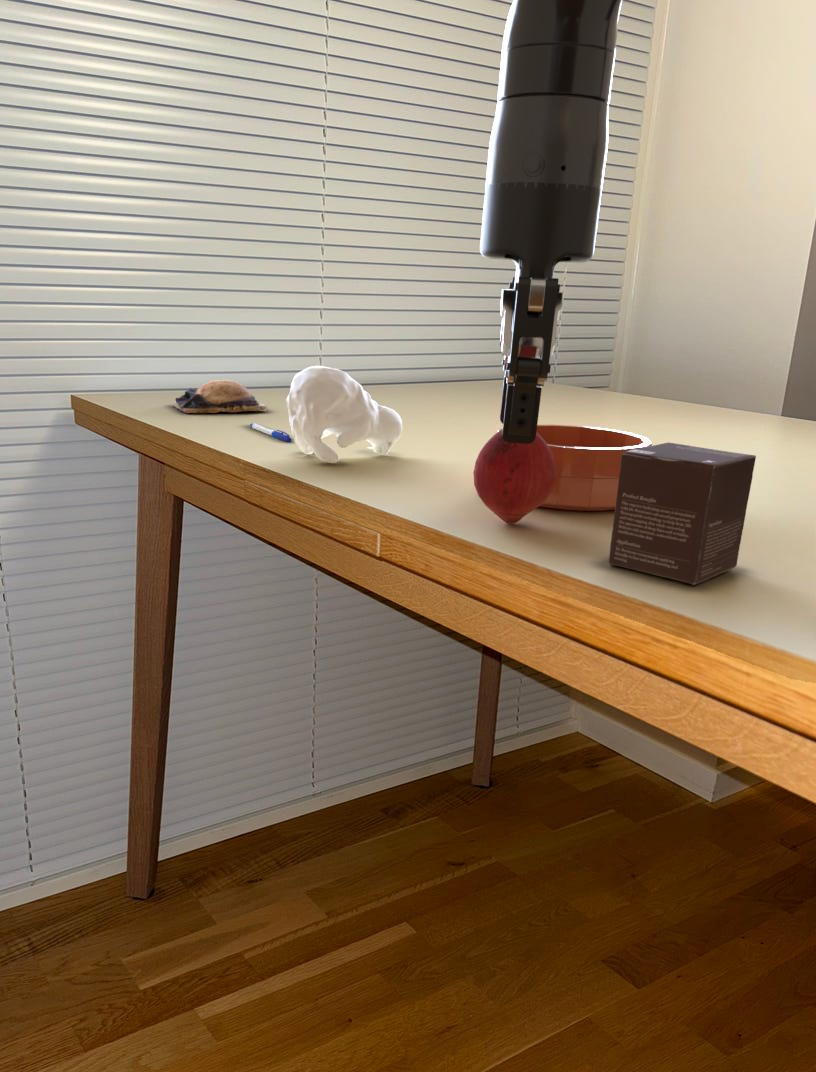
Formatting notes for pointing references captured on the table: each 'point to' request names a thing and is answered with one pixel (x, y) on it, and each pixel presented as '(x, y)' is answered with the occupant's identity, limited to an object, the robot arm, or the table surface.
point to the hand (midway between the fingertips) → (515, 433)
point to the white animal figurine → (337, 414)
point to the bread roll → (218, 398)
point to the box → (680, 511)
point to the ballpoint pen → (272, 432)
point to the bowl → (586, 465)
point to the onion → (514, 476)
